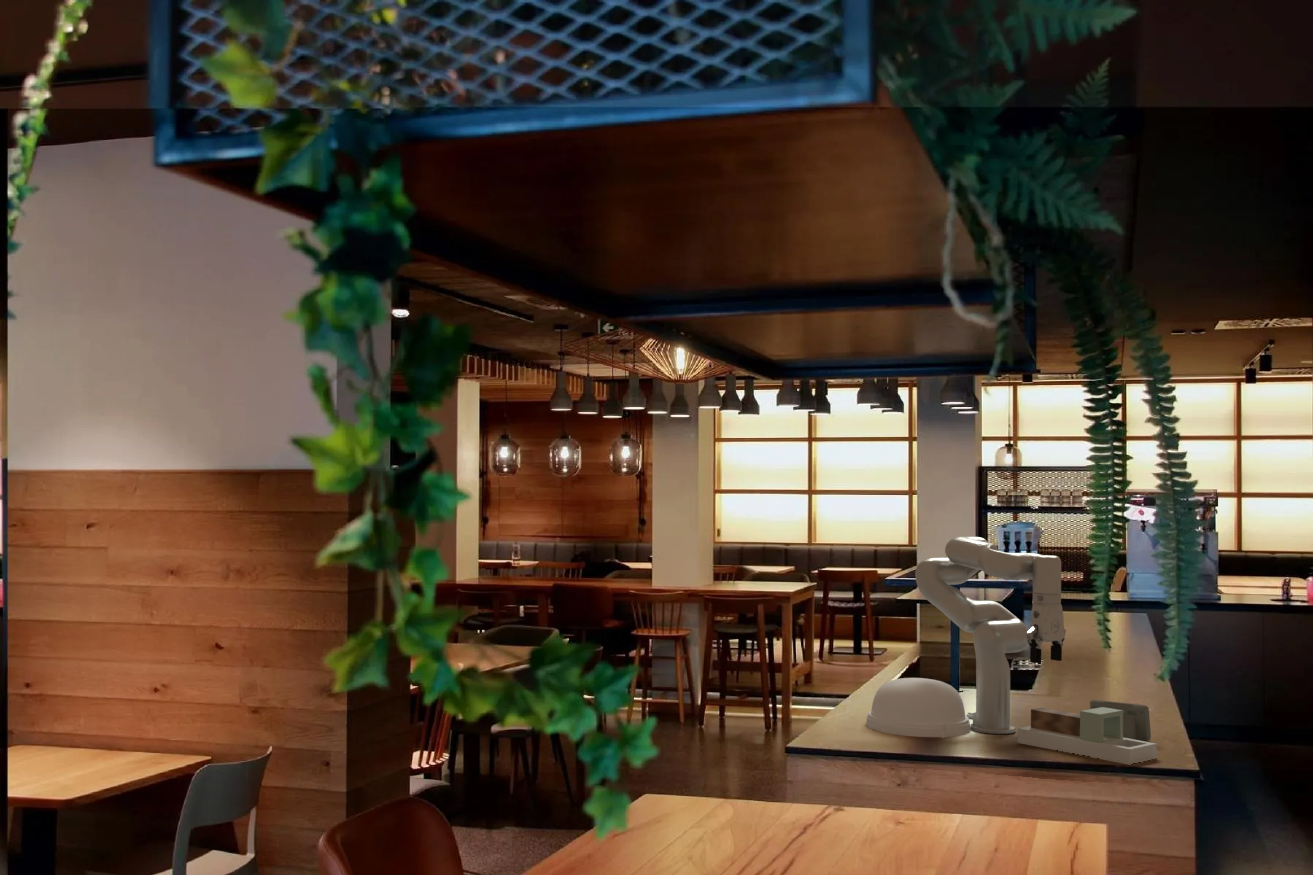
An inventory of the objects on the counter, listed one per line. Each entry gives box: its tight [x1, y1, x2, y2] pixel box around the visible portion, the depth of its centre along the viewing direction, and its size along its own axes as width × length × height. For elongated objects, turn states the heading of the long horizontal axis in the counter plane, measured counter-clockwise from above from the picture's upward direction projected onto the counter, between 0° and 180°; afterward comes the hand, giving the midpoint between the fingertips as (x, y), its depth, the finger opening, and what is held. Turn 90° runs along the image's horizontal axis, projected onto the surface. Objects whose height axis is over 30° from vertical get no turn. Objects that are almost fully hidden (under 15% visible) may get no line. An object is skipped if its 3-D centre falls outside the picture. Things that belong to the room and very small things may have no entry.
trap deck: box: [1017, 725, 1158, 766], centre depth 334 cm, size 34×13×4 cm, turn 39°
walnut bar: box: [1030, 707, 1080, 736], centre depth 340 cm, size 15×5×5 cm, turn 39°
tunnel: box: [1079, 707, 1123, 743], centre depth 331 cm, size 6×11×7 cm, turn 129°
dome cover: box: [865, 677, 971, 739], centre depth 364 cm, size 32×30×14 cm
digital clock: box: [1089, 699, 1152, 742], centre depth 351 cm, size 16×9×11 cm, turn 45°
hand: (1045, 661), depth 345 cm, fingers open, 9 cm apart
